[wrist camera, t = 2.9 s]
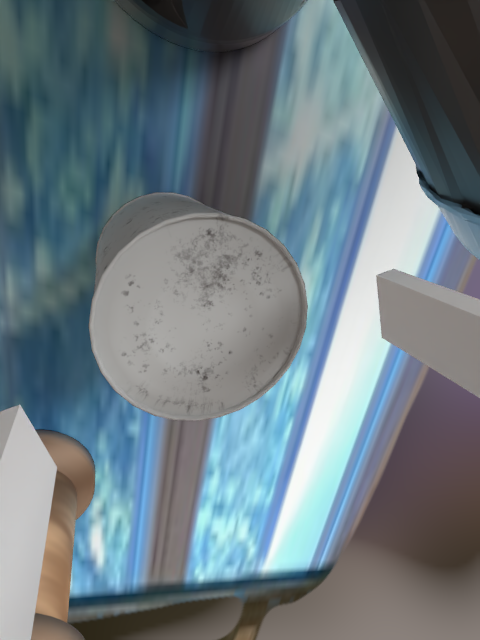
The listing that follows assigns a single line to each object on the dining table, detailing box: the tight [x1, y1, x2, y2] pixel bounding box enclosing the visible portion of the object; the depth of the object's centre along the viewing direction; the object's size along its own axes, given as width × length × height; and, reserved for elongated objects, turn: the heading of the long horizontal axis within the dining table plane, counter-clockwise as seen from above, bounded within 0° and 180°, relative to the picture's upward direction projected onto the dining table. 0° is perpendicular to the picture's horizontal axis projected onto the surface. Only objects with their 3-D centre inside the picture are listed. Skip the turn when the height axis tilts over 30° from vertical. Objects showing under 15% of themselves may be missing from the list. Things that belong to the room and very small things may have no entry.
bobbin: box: [31, 430, 95, 640], centre depth 24 cm, size 9×9×15 cm
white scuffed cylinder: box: [89, 193, 308, 421], centre depth 22 cm, size 10×10×12 cm
